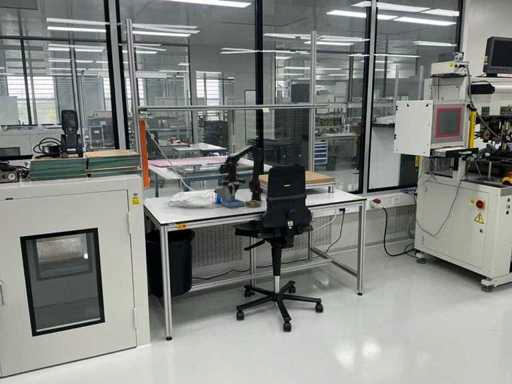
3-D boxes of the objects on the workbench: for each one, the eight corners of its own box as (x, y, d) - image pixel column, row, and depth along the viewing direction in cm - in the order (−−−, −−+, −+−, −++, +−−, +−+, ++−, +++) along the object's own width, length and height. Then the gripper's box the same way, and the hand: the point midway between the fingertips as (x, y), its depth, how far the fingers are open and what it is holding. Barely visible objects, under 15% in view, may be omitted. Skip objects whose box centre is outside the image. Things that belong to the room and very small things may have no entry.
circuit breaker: (213, 201, 315) (213, 181, 312) (232, 200, 319) (231, 180, 315) (214, 203, 308) (214, 183, 305) (234, 202, 311) (233, 182, 308)
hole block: (254, 204, 307) (254, 200, 307) (260, 206, 301) (260, 202, 300) (245, 205, 303) (245, 201, 302) (251, 207, 296) (251, 203, 296)
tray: (236, 202, 310) (236, 198, 310) (244, 205, 302) (244, 201, 301) (221, 205, 303) (221, 201, 302) (229, 208, 294) (229, 204, 294)
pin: (233, 199, 304) (233, 185, 302) (236, 201, 301) (236, 186, 299) (229, 200, 302) (229, 185, 300) (232, 201, 299) (232, 186, 297)
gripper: (237, 169, 309) (237, 190, 312) (215, 172, 298) (215, 193, 302) (246, 171, 300) (246, 193, 303) (223, 174, 290) (224, 196, 293)
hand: (232, 194), depth 301 cm, fingers closed on pin, 3 cm apart
